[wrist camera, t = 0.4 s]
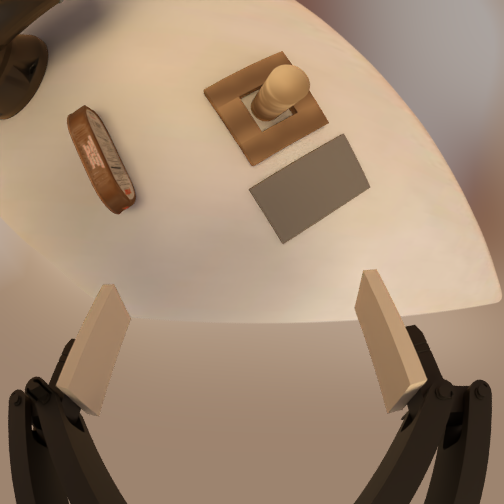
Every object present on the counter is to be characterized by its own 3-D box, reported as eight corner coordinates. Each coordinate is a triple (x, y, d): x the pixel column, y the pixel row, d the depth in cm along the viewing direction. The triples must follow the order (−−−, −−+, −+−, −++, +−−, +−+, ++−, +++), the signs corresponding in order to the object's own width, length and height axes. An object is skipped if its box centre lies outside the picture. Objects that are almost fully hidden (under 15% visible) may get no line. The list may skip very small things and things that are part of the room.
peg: (245, 102, 33) (260, 74, 22) (270, 89, 33) (295, 58, 22) (261, 126, 34) (283, 108, 23) (285, 112, 34) (317, 91, 23)
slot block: (204, 93, 32) (203, 89, 30) (278, 56, 32) (282, 51, 30) (251, 165, 36) (253, 165, 34) (323, 124, 35) (328, 122, 34)
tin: (84, 120, 30) (55, 111, 22) (102, 108, 30) (76, 95, 22) (126, 210, 35) (105, 222, 27) (145, 199, 35) (127, 207, 27)
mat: (249, 189, 37) (249, 189, 36) (342, 134, 36) (343, 133, 36) (282, 243, 40) (283, 244, 39) (368, 186, 39) (370, 187, 39)
